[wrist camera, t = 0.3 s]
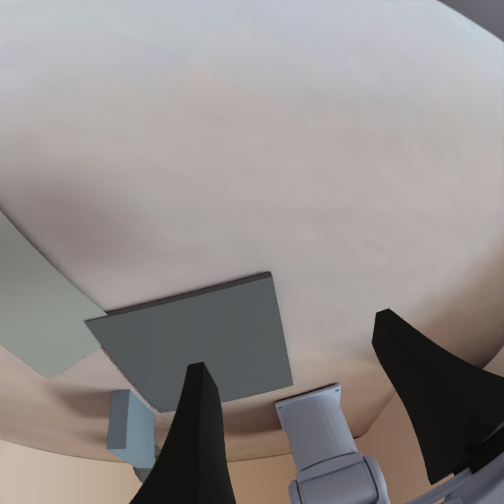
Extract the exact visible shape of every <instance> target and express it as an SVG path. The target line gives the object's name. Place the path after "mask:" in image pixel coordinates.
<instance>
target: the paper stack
mask: <svg viewBox="0 0 504 504" xmlns="http://www.w3.org/2000/svg"><path fill="white" fill-rule="evenodd" d="M103 316H108V315H107V314H106V313H105V312H104V311H103V310H101V309H100V308H99V307H98V306H97V305H95V304H94V303H93V302H92V301H91V300H89V299H88V298H87V297H86V296H85V295H84V294H83V293H81V292H80V291H79V290H78V289H77V288H76V287H75V286H74V285H72V284H71V283H70V282H69V281H68V280H67V279H66V278H65V277H64V276H63V275H62V274H61V273H59V272H58V271H57V270H56V269H55V268H54V267H53V266H52V265H51V264H50V263H49V262H48V261H47V260H46V259H45V258H44V257H43V256H42V255H41V254H40V253H39V252H38V251H37V250H36V249H35V248H34V247H33V246H32V245H31V244H30V243H29V242H28V241H27V240H26V238H25V237H24V236H23V235H22V234H21V233H20V232H19V231H18V230H17V229H16V228H15V227H14V225H13V224H12V223H11V222H10V221H9V220H8V219H7V217H6V216H5V215H4V214H3V213H2V212H1V211H0V344H1V345H3V346H4V347H5V348H6V349H7V350H9V351H10V352H11V353H12V354H14V355H15V356H16V357H18V358H19V359H20V360H22V361H23V362H24V363H26V364H27V365H28V366H30V367H31V368H32V369H34V370H35V371H37V372H38V373H39V374H41V375H42V376H44V377H45V378H47V379H48V380H50V379H52V378H53V377H55V376H56V375H58V374H59V373H61V372H62V371H64V370H66V369H67V368H69V367H70V366H72V365H73V364H75V363H76V362H78V361H79V360H81V359H82V358H84V357H86V356H87V355H89V354H90V353H92V352H93V351H95V350H96V349H98V348H99V347H101V346H102V345H101V344H100V342H99V341H98V340H97V338H96V337H95V336H94V334H93V333H92V331H91V330H90V329H89V327H88V326H87V325H86V323H85V321H86V320H90V319H94V318H99V317H103Z"/></svg>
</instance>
